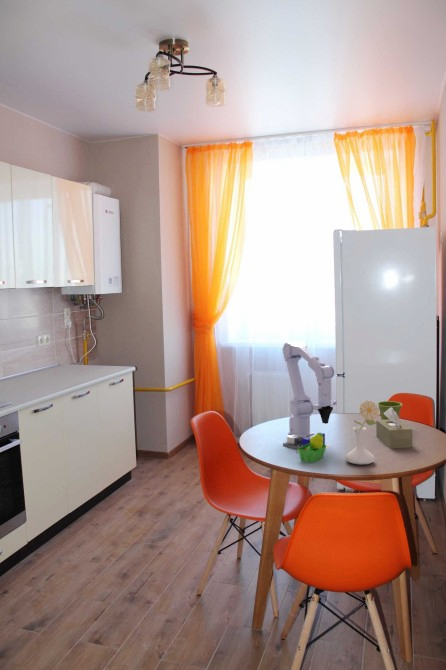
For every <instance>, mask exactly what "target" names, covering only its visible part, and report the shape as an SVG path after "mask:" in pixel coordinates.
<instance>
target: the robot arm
mask: <svg viewBox="0 0 446 670" xmlns="http://www.w3.org/2000/svg"><path fill="white" fill-rule="evenodd" d="M282 354H283V358H284V362H286V367H287V371H288V375H289V379H290V384H291V389H292V394H293V397H292V399H290V401H289V403H290V407H289V408H290V412H291V415H290V417H289V422H288V423H289V431H288V435H293V434H299V435H303V438H307V437H309V436H311V435H314V434H315V432H313V431H311V416H312V414H313V413H314V411H318V413H319V416H320V419H321V422H322V424H326V425H327V424H328V423H329V419H330V417H331V413H332V411H333V410H334V407H333V406H337V405H338V402H337V400H335V399H332V378H333V377H334V376H335V371H334V368H333V366H332V365H331V364H326V363H325V362H323V360H322V359H321V358H320V357H319V356H315V355H313V354H312V353H311V352H310V351H309V349H308V347H307V344H306V343H305V342H304V341H296V342H285V343H284V344H283V346H282ZM302 358H303V359H304V360H305V361H306V362H307V366H308V367H309V368H310V369H311V370H312V371H313V372H314V375H315V378H316V383H317V386H318V387H317V395H318V399H317V401H318V402H317V403H315V404H313V402H312V399H311V397H310V396H309V395H307V394H306V392H305V390H304V389H305V388H304V385H303V379H302V376H301V375H302V374H301V371H300V367H299V361H300V360H302Z"/></svg>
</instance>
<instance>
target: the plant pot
mask: <svg viewBox="0 0 446 670" xmlns="http://www.w3.org/2000/svg"><path fill="white" fill-rule="evenodd" d="M376 404H377V407H378V408H379V415H380V420H389V418H388V417H386V416H385V415H384V412H386V411H387V410H388V409H389V408H391V407H392V408H393V410H394V411H395V412H396V413H397V415H398V417H399V418H400V414H401V413H400V412H401V409H402V407H403V403H401V402H399V401H391V400H384V401H379V402H377V403H376Z"/></svg>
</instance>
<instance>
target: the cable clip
mask: <svg viewBox="0 0 446 670" xmlns="http://www.w3.org/2000/svg"><path fill="white" fill-rule="evenodd" d="M320 433H321V434H322V435H323V445H326V433H323V432H320ZM310 439H311V438H308V437H303V438H302V446H304V445H307V444H309V443H310ZM302 446H301V447H302Z"/></svg>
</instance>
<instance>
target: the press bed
mask: <svg viewBox="0 0 446 670" xmlns="http://www.w3.org/2000/svg"><path fill="white" fill-rule="evenodd" d="M282 446H283V447H287V448H290V449H295V450H297V451H296V452H297V453H299V451H298V448H300V447H301V446H294V445H290V444H287V441H285V442H284V443H282ZM328 448H331V446H329V445H326V448H325V450H326V449H328Z"/></svg>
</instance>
